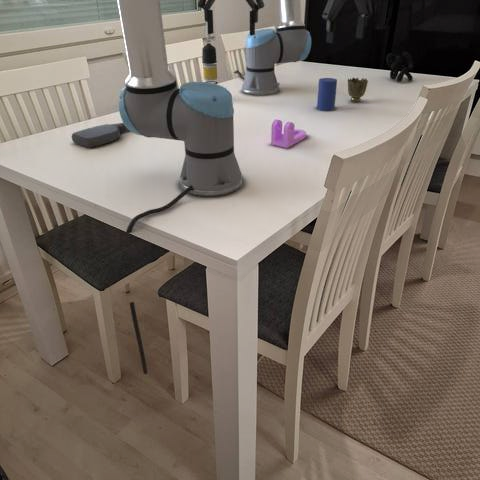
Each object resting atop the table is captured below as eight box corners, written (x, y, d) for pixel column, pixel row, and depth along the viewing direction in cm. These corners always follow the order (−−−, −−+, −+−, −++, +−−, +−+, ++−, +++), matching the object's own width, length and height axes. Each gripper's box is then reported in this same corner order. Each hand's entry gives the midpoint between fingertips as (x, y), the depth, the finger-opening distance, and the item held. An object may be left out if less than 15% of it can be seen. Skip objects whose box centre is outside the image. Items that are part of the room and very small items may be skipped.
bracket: (287, 148, 130) (288, 124, 126) (271, 144, 133) (271, 121, 129) (309, 135, 139) (310, 113, 135) (293, 132, 142) (294, 110, 138)
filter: (220, 99, 177) (217, 15, 161) (206, 100, 176) (202, 16, 160) (215, 96, 182) (212, 14, 166) (202, 97, 180) (197, 14, 164)
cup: (343, 102, 170) (345, 80, 166) (348, 97, 176) (350, 76, 172) (362, 104, 167) (365, 82, 163) (367, 99, 173) (370, 78, 169)
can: (338, 108, 164) (340, 80, 158) (325, 111, 161) (327, 82, 155) (325, 105, 168) (328, 77, 163) (313, 108, 165) (315, 79, 160)
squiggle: (400, 92, 202) (376, 71, 205) (417, 76, 202) (392, 56, 205) (405, 81, 191) (380, 59, 194) (423, 64, 191) (397, 42, 194)
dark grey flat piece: (70, 142, 137) (133, 123, 153) (90, 149, 131) (154, 129, 147) (68, 132, 136) (131, 115, 152) (89, 139, 130) (153, 120, 146)
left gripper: (275, -50, 125) (273, 33, 136) (194, -47, 132) (199, 31, 143) (268, -50, 119) (266, 37, 130) (183, -48, 126) (189, 34, 137)
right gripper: (332, -34, 127) (325, 46, 139) (390, -36, 139) (379, 38, 150) (314, -35, 132) (308, 42, 144) (372, -37, 144) (362, 35, 156)
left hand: (231, 34), depth 136 cm, fingers open, 13 cm apart
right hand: (345, 40), depth 147 cm, fingers open, 13 cm apart
